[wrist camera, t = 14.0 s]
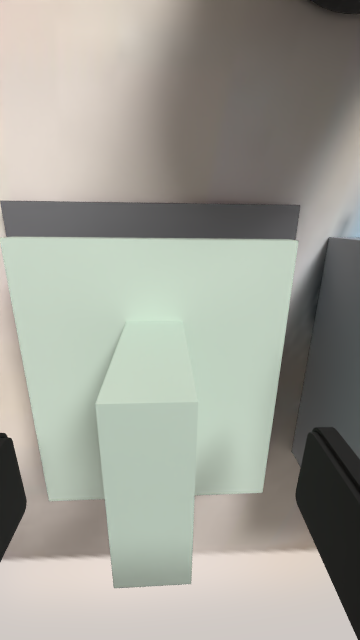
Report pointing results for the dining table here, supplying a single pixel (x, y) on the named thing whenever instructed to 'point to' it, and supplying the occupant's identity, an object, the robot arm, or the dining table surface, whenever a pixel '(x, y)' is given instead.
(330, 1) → the pen holder
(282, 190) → the dining table surface
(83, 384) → the green slab
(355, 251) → the tub
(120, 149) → the dining table surface
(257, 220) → the dark grey flat plate
